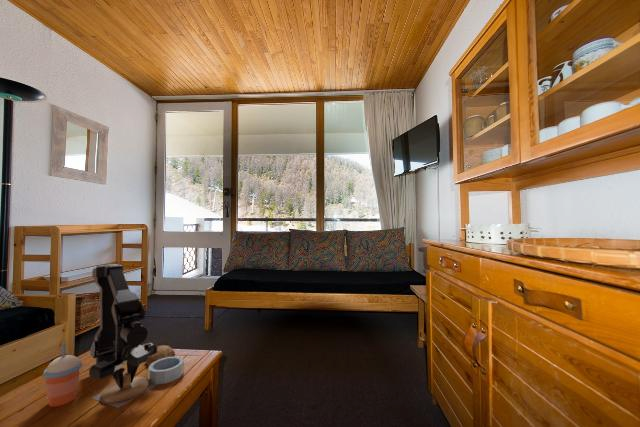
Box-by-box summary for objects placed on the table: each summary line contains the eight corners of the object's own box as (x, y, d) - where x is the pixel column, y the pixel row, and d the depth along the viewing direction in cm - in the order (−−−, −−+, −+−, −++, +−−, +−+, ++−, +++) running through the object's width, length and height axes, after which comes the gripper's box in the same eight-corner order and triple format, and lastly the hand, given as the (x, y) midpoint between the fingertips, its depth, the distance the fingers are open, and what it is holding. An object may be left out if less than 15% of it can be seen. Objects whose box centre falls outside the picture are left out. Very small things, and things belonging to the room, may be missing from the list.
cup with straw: (62, 392, 93) (63, 337, 94) (88, 392, 93) (90, 337, 94) (33, 410, 84) (34, 349, 85) (62, 411, 84) (64, 349, 85)
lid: (91, 397, 90) (91, 381, 90) (131, 377, 102) (132, 362, 102) (118, 407, 85) (118, 389, 85) (157, 384, 97) (157, 369, 97)
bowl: (141, 381, 100) (141, 368, 100) (168, 366, 110) (168, 354, 110) (163, 387, 96) (164, 374, 96) (190, 371, 106) (190, 359, 106)
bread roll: (157, 378, 108) (165, 360, 108) (136, 364, 110) (144, 346, 110) (175, 365, 118) (182, 348, 117) (156, 353, 120) (163, 336, 119)
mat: (90, 399, 90) (90, 397, 90) (131, 378, 102) (131, 377, 102) (118, 409, 85) (118, 407, 85) (157, 385, 97) (157, 384, 97)
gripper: (112, 353, 82) (111, 408, 82) (168, 330, 99) (168, 376, 99) (88, 347, 86) (87, 399, 86) (146, 326, 104) (145, 370, 103)
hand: (125, 385), depth 93 cm, fingers closed on lid, 3 cm apart
